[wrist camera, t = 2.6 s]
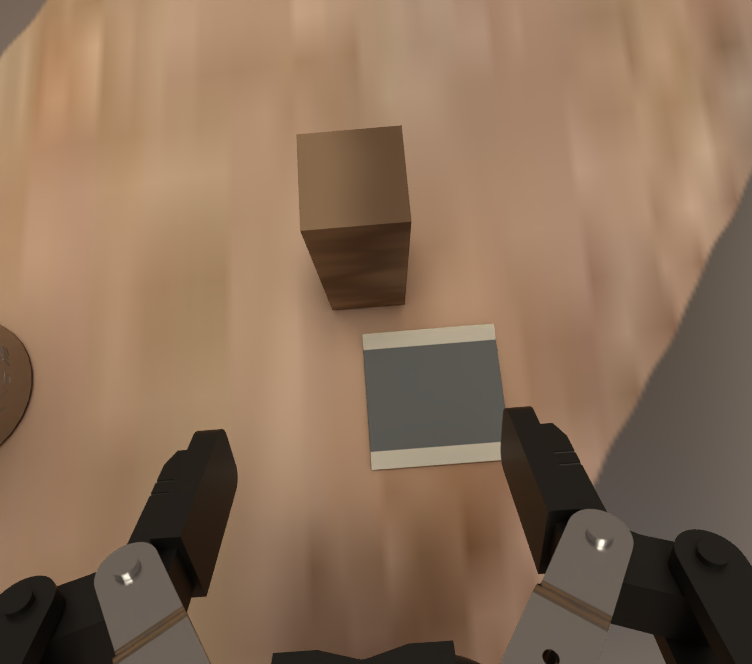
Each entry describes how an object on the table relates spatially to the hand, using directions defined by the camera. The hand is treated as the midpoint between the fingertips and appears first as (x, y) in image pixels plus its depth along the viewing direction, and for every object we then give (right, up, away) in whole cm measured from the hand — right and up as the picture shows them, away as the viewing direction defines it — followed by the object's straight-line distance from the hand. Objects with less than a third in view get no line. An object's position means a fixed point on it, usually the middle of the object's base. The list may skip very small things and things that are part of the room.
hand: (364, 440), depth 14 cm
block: (0, +7, +17) cm, 18 cm away
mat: (+4, -1, +15) cm, 15 cm away
